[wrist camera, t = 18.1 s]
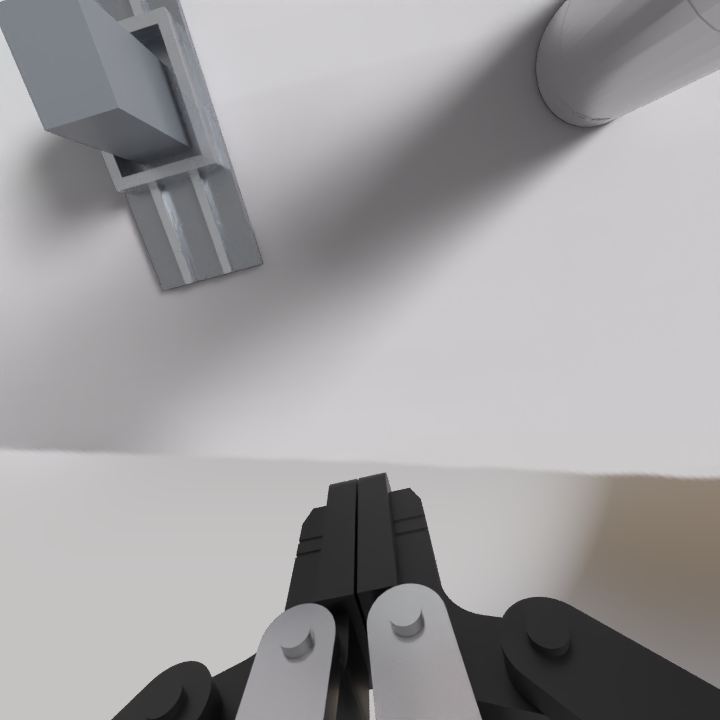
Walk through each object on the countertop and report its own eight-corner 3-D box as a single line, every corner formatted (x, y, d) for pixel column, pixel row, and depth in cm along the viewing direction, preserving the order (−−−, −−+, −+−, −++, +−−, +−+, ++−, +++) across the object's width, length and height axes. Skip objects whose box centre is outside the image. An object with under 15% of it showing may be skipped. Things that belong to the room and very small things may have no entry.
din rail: (263, 263, 35) (254, 265, 32) (167, 289, 36) (151, 293, 33) (145, -107, 28) (122, -144, 25) (28, -66, 28) (-6, -98, 26)
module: (192, 148, 32) (118, 107, 22) (136, 165, 32) (39, 131, 22) (163, 63, 30) (70, -22, 20) (104, 81, 30) (-15, 6, 21)
